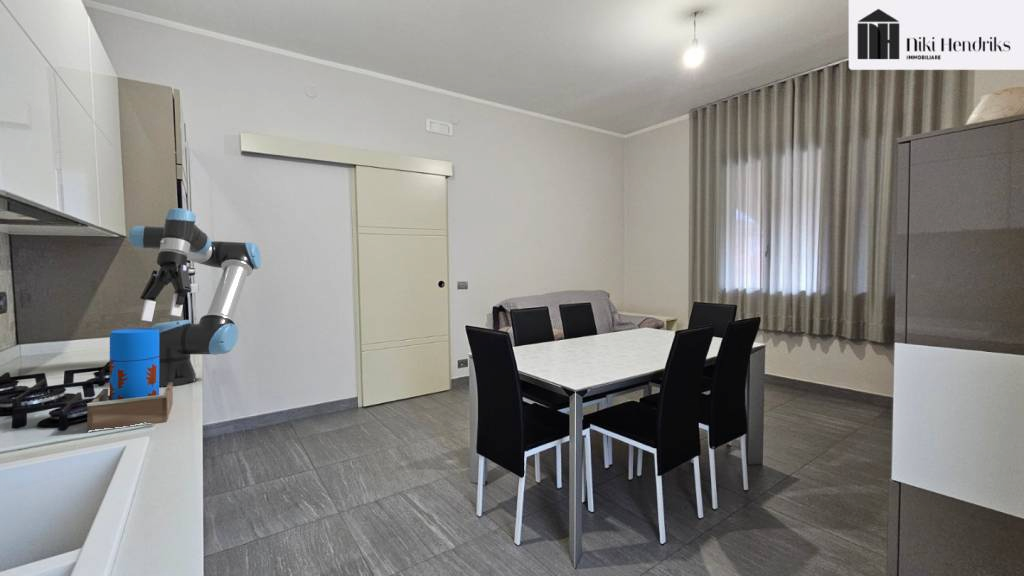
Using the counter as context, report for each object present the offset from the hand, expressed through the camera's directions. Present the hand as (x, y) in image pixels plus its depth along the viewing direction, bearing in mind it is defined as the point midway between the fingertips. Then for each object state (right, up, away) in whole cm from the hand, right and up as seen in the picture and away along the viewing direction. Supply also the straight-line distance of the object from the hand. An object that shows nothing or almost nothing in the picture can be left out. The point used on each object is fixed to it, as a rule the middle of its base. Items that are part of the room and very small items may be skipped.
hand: (160, 318), depth 130 cm
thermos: (-2, -28, -7) cm, 29 cm away
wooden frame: (-1, -28, -8) cm, 29 cm away
